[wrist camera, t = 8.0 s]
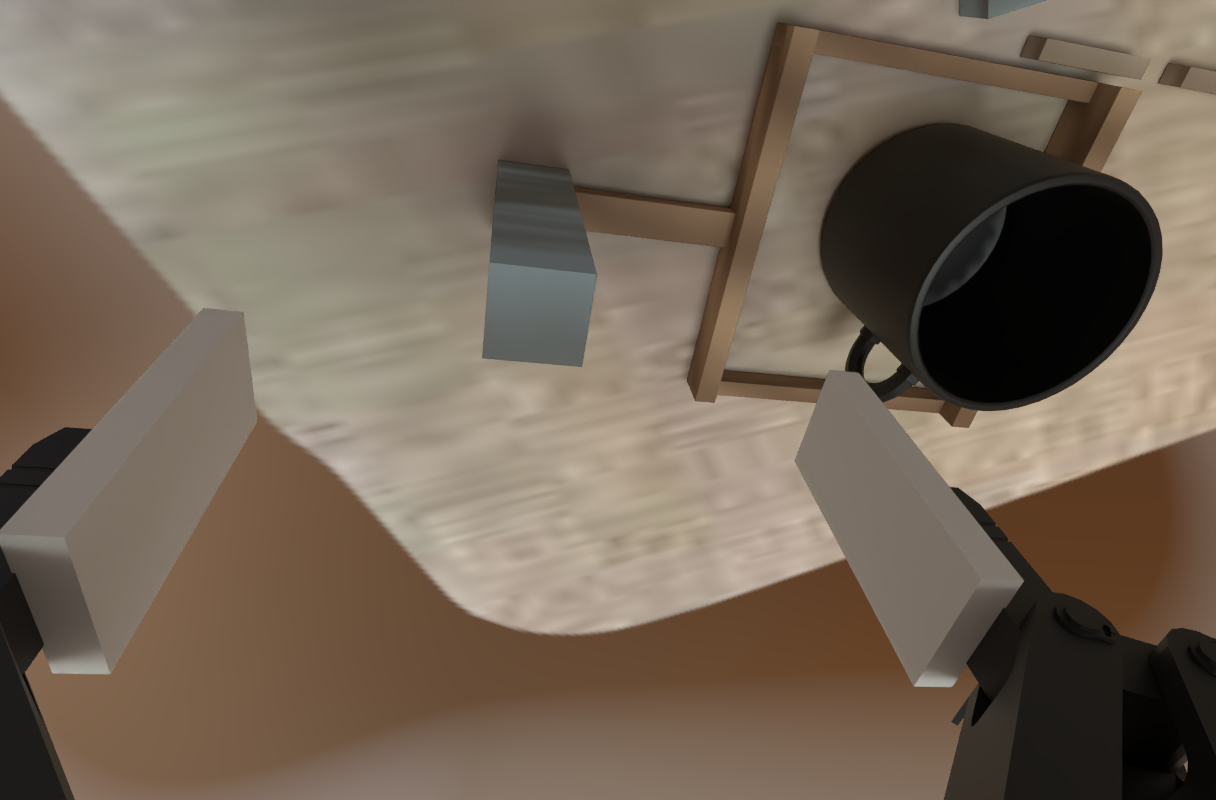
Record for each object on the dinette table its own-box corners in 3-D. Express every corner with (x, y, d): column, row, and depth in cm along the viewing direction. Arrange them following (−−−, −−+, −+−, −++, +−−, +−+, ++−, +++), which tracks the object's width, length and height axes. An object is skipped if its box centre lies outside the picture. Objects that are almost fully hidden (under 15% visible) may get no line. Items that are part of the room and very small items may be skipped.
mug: (745, 305, 34) (811, 402, 26) (917, 77, 29) (1059, 116, 22) (878, 383, 37) (971, 489, 30) (1052, 191, 33) (1215, 259, 25)
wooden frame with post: (513, -28, 26) (511, -25, 15) (1098, 82, 30) (1392, 140, 20) (482, 363, 34) (469, 530, 24) (944, 402, 39) (1095, 556, 29)
